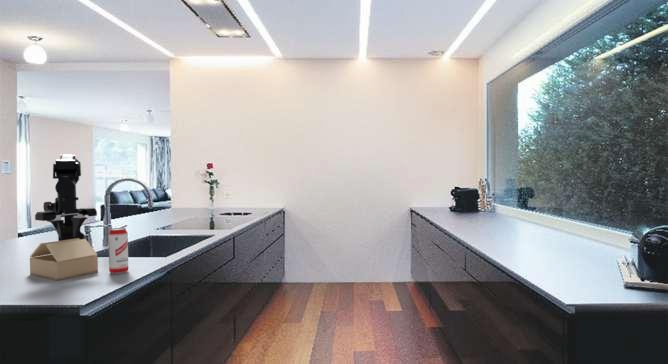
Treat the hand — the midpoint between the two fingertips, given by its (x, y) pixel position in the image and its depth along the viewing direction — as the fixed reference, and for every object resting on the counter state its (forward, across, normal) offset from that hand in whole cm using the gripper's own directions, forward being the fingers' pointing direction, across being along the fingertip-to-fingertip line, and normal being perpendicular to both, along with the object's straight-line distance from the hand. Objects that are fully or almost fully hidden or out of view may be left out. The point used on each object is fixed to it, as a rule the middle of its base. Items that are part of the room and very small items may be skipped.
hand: (68, 238), depth 155 cm
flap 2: (+4, 0, +2) cm, 5 cm away
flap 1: (+4, 0, -8) cm, 9 cm away
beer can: (+13, -10, +14) cm, 22 cm away
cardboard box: (+13, 0, -3) cm, 13 cm away
